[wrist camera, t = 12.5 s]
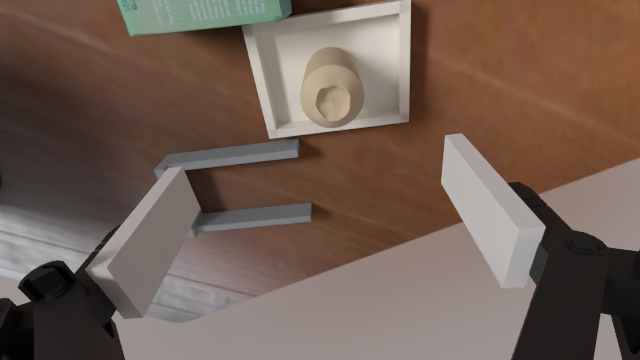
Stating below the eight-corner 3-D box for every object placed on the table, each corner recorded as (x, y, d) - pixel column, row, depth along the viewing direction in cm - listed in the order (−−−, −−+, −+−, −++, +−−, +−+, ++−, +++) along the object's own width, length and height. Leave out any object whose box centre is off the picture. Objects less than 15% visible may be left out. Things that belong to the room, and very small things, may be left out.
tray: (272, 130, 38) (269, 138, 36) (246, 22, 32) (241, 25, 30) (404, 114, 37) (409, 121, 35) (405, -3, 30) (410, -1, 28)
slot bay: (197, 219, 46) (187, 238, 43) (167, 154, 40) (153, 170, 37) (312, 207, 45) (310, 226, 41) (298, 138, 39) (295, 153, 35)
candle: (295, 65, 34) (285, 94, 25) (338, 34, 32) (343, 54, 23) (323, 107, 36) (322, 146, 28) (365, 80, 34) (378, 113, 26)
